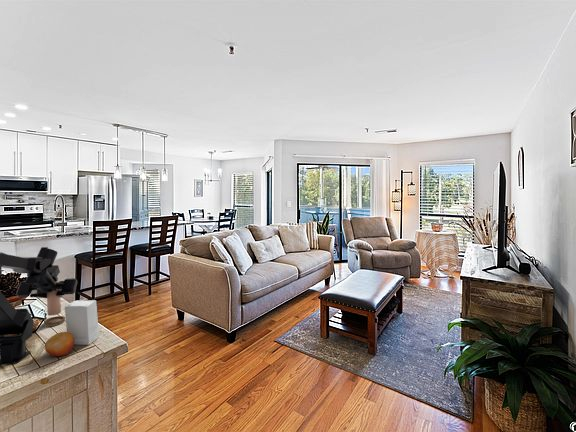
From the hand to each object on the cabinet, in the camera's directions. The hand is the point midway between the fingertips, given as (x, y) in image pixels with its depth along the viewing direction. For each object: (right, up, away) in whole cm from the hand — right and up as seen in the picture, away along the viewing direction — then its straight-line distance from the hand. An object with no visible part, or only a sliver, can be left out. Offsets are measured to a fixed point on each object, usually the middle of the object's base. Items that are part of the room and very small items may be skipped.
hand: (55, 296), depth 123 cm
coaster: (0, -11, 0) cm, 11 cm away
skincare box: (+22, -13, -14) cm, 29 cm away
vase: (0, -7, -1) cm, 7 cm away
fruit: (+20, -13, -23) cm, 33 cm away
